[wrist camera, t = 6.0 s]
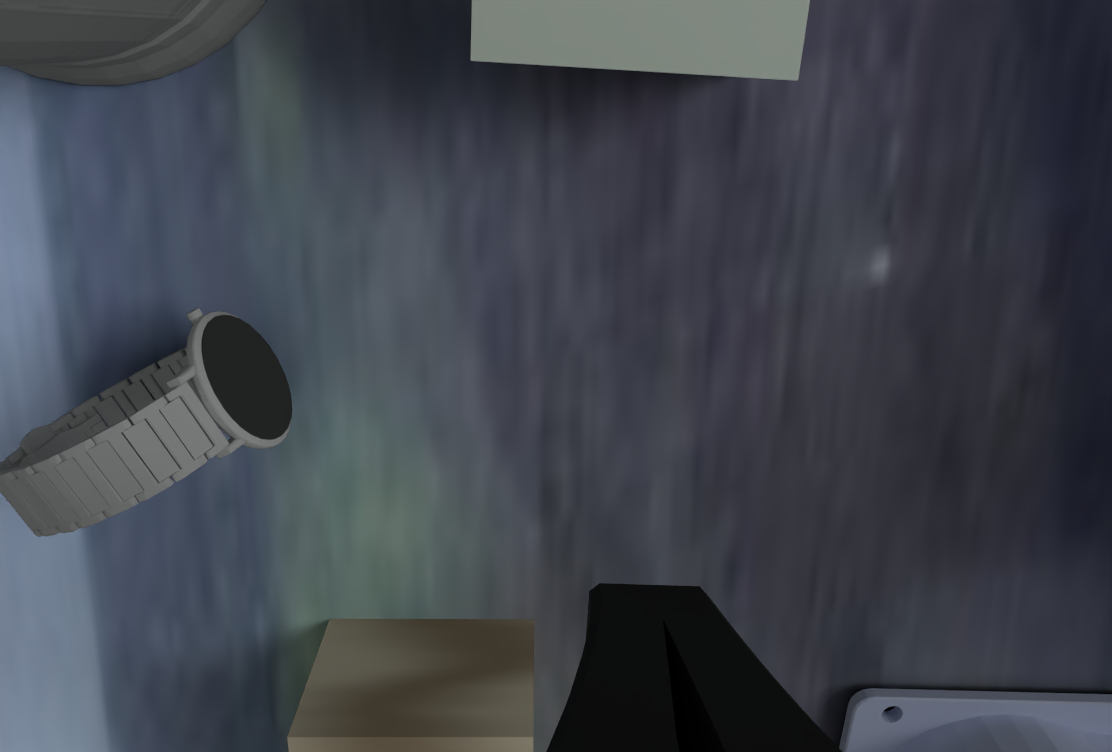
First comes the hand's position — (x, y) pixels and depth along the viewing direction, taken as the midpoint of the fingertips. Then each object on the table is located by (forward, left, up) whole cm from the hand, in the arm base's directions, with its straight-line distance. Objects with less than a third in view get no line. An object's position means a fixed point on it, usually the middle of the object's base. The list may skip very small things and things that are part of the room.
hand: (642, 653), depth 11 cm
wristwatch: (+9, 0, -9) cm, 13 cm away
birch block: (+4, +9, -9) cm, 13 cm away
